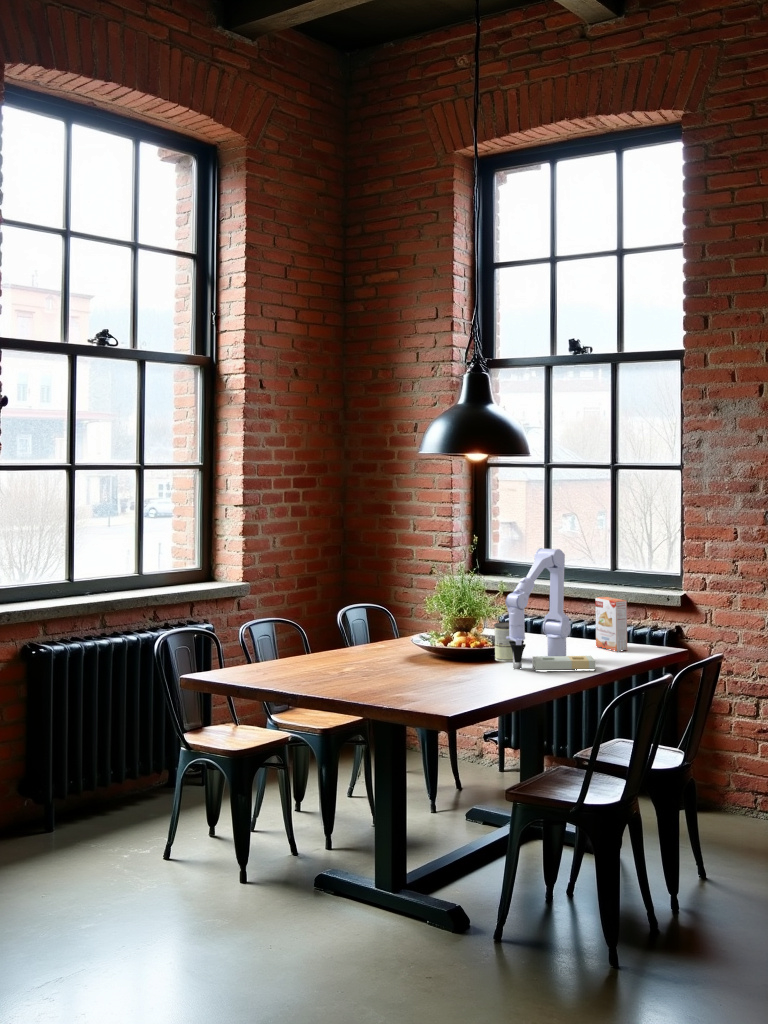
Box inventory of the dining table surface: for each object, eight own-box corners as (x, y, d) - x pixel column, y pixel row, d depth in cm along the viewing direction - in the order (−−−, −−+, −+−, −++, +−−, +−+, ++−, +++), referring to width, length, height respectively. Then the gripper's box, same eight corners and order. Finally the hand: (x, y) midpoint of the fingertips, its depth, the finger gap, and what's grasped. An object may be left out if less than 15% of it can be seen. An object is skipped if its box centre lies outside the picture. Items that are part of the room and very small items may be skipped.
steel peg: (512, 668, 409) (512, 647, 409) (521, 667, 409) (521, 646, 409) (513, 669, 406) (513, 648, 405) (522, 669, 406) (521, 648, 405)
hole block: (532, 667, 410) (532, 656, 410) (591, 666, 409) (591, 655, 409) (535, 672, 400) (535, 661, 400) (595, 671, 400) (595, 660, 399)
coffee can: (494, 657, 432) (494, 622, 431) (520, 657, 431) (520, 622, 430) (494, 662, 422) (494, 626, 421) (521, 662, 421) (520, 626, 420)
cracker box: (595, 647, 450) (594, 597, 449) (606, 646, 453) (606, 596, 452) (615, 652, 437) (615, 600, 436) (627, 651, 440) (627, 599, 439)
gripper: (504, 622, 414) (505, 657, 415) (507, 628, 399) (508, 664, 400) (523, 622, 414) (523, 657, 414) (527, 628, 399) (527, 664, 400)
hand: (517, 661), depth 407 cm, fingers open, 5 cm apart
